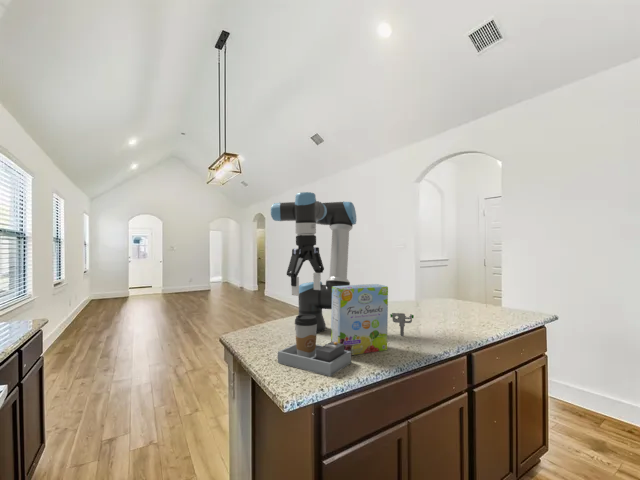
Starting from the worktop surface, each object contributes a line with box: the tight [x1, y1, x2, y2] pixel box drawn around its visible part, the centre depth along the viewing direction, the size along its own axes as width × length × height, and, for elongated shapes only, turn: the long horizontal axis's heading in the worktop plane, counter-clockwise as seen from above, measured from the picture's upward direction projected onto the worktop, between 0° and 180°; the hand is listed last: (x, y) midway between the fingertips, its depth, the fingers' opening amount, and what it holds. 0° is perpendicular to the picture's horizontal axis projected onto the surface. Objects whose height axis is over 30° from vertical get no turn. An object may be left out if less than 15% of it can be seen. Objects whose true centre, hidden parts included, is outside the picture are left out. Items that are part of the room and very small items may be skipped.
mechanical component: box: [389, 312, 414, 337], centre depth 147 cm, size 3×10×10 cm, turn 79°
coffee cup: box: [294, 315, 317, 358], centre depth 117 cm, size 8×8×15 cm
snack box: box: [330, 283, 389, 356], centre depth 127 cm, size 22×9×26 cm, turn 113°
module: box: [316, 341, 344, 363], centre depth 111 cm, size 5×10×7 cm, turn 147°
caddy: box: [277, 343, 352, 377], centre depth 115 cm, size 22×14×4 cm, turn 57°
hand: (306, 292), depth 119 cm, fingers open, 13 cm apart
